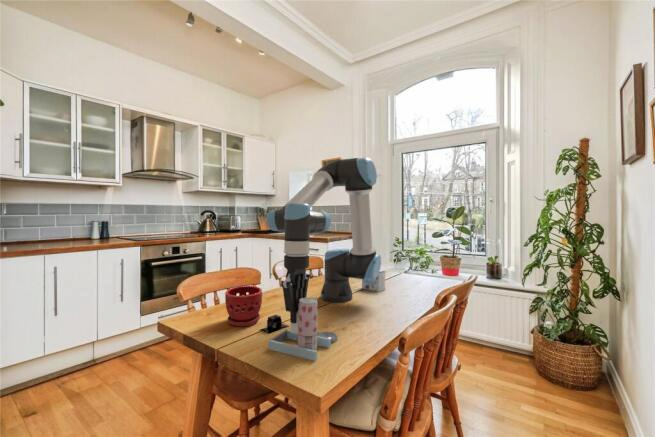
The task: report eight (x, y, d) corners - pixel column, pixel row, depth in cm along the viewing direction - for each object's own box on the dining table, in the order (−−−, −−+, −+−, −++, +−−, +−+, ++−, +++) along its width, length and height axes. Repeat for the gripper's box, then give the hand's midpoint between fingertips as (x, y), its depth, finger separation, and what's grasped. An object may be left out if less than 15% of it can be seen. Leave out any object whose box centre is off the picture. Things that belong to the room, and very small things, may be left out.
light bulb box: (361, 288, 159) (361, 268, 159) (368, 286, 164) (368, 266, 164) (378, 292, 152) (379, 271, 152) (385, 289, 157) (385, 269, 157)
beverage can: (307, 344, 92) (308, 296, 91) (320, 350, 88) (321, 300, 88) (293, 350, 88) (294, 300, 87) (307, 356, 84) (307, 304, 83)
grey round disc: (319, 331, 101) (319, 329, 101) (341, 336, 98) (341, 334, 98) (308, 340, 94) (308, 338, 94) (331, 345, 91) (331, 343, 91)
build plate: (265, 338, 97) (265, 324, 97) (253, 331, 102) (253, 318, 102) (294, 327, 107) (294, 314, 106) (281, 322, 111) (281, 310, 111)
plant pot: (219, 321, 110) (219, 289, 110) (252, 313, 119) (252, 283, 118) (233, 332, 100) (233, 297, 100) (268, 323, 109) (268, 290, 108)
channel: (286, 336, 97) (286, 329, 97) (330, 346, 90) (330, 338, 90) (268, 348, 88) (268, 340, 88) (315, 361, 82) (315, 352, 81)
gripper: (297, 251, 97) (296, 322, 97) (273, 256, 85) (272, 337, 85) (317, 252, 93) (316, 327, 94) (295, 258, 82) (294, 343, 82)
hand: (295, 332), depth 90 cm, fingers closed
